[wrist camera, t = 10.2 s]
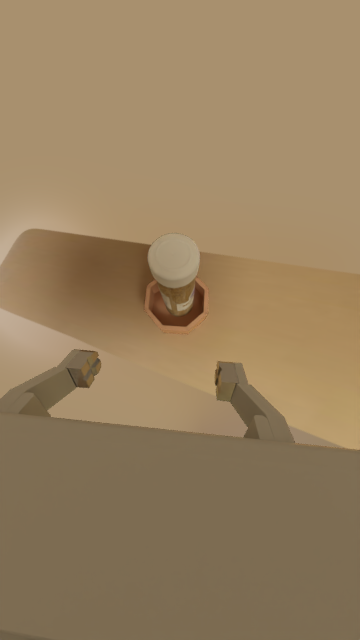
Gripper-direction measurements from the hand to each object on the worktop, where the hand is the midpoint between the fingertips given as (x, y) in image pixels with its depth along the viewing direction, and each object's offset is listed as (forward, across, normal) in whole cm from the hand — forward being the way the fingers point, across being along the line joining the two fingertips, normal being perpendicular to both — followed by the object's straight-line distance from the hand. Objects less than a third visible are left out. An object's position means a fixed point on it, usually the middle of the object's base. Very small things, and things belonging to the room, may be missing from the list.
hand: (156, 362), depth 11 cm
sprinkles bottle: (+16, 0, +4) cm, 17 cm away
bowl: (+16, 0, +4) cm, 17 cm away
